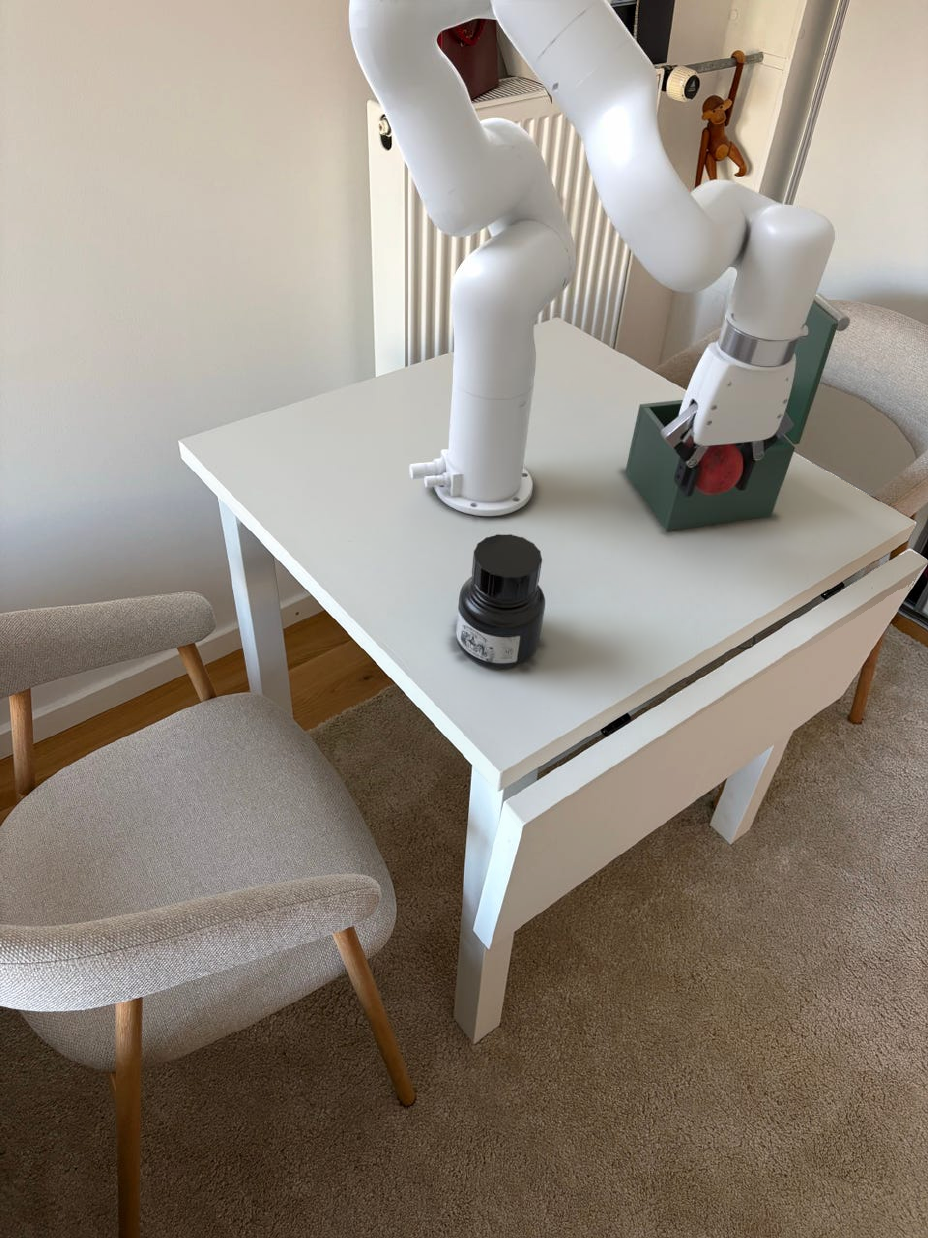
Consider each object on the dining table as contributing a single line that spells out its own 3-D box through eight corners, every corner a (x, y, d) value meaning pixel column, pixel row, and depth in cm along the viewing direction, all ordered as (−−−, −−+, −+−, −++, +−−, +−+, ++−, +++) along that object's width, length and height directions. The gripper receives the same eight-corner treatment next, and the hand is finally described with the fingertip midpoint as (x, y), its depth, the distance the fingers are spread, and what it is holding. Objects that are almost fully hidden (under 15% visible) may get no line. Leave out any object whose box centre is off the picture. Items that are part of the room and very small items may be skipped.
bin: (666, 531, 122) (684, 461, 115) (624, 472, 131) (639, 403, 123) (771, 516, 126) (795, 447, 118) (723, 460, 134) (743, 392, 127)
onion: (720, 516, 108) (742, 456, 102) (672, 496, 110) (691, 435, 104) (739, 491, 112) (761, 431, 106) (692, 472, 113) (711, 412, 108)
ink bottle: (436, 635, 106) (441, 549, 98) (493, 600, 110) (503, 514, 102) (501, 686, 101) (512, 599, 93) (558, 646, 106) (574, 561, 98)
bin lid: (832, 323, 107) (873, 319, 108) (773, 273, 116) (811, 269, 117) (793, 444, 118) (831, 439, 119) (742, 389, 127) (777, 385, 128)
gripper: (812, 316, 102) (760, 459, 115) (663, 325, 98) (625, 474, 110) (852, 353, 97) (792, 498, 110) (697, 364, 93) (653, 515, 105)
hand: (709, 485), depth 110 cm, fingers closed on onion, 6 cm apart
